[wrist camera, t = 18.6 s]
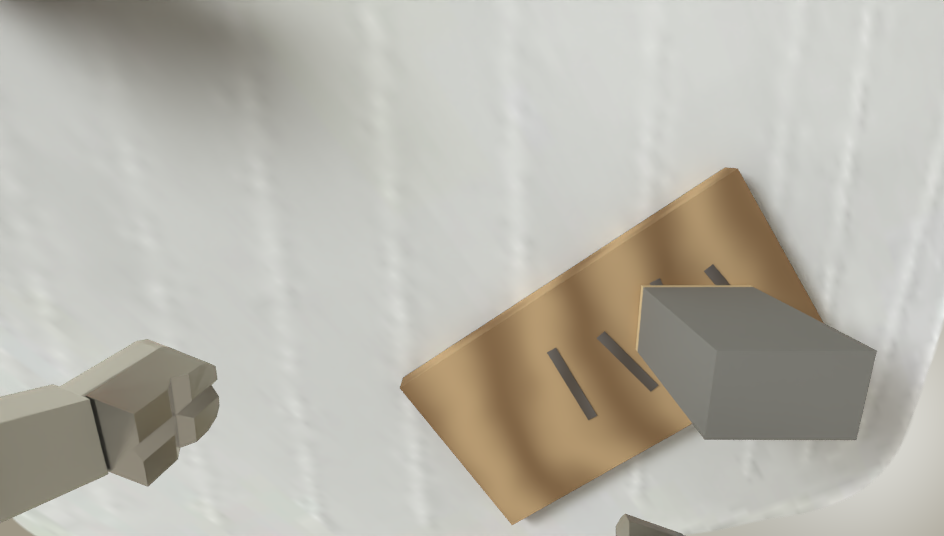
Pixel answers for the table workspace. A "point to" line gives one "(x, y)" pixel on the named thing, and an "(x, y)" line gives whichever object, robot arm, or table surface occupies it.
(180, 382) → the robot arm
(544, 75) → the table surface
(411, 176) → the table surface
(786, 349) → the block
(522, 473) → the oak board
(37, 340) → the table surface
